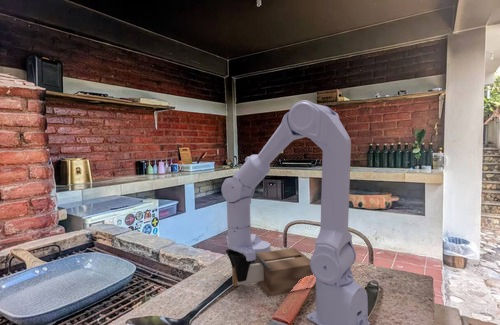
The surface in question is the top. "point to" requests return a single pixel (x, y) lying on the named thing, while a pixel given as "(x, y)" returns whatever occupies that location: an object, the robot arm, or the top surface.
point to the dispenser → (282, 270)
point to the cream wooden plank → (251, 274)
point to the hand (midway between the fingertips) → (240, 279)
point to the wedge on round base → (260, 244)
